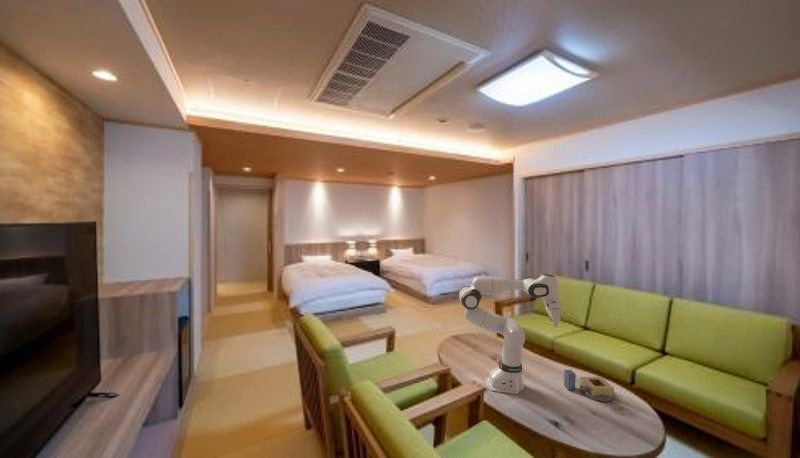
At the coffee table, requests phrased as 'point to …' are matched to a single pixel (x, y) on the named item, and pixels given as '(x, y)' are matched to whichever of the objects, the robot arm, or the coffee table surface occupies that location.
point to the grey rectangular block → (569, 380)
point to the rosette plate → (597, 389)
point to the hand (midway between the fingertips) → (553, 323)
